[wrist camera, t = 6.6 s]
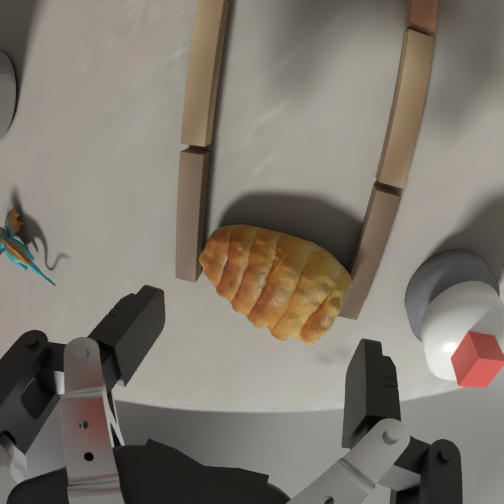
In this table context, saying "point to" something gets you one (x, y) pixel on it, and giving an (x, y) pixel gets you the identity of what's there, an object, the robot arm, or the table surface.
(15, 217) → the dragon figurine
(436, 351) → the dome button
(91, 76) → the table surface
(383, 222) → the track
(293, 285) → the pastry
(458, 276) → the button base
